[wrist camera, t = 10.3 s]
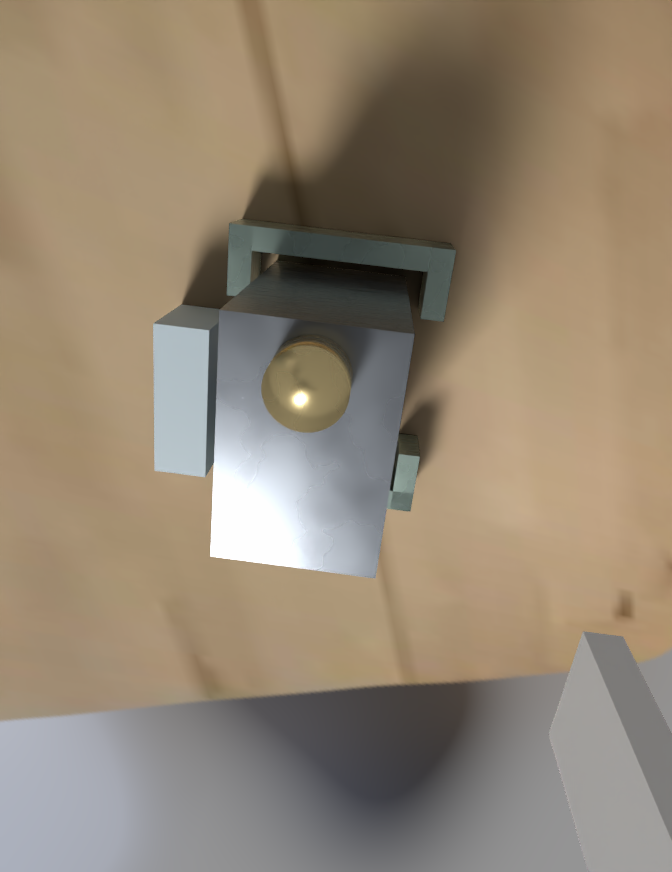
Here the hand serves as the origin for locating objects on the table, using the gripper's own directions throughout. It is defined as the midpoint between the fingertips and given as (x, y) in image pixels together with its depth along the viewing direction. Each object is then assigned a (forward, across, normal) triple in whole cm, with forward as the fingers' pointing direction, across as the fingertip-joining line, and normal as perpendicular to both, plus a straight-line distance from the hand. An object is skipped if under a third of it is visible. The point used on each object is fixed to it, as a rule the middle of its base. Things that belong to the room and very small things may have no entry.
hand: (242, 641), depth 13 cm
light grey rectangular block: (+20, +6, +2) cm, 21 cm away
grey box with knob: (+20, 0, 0) cm, 20 cm away
